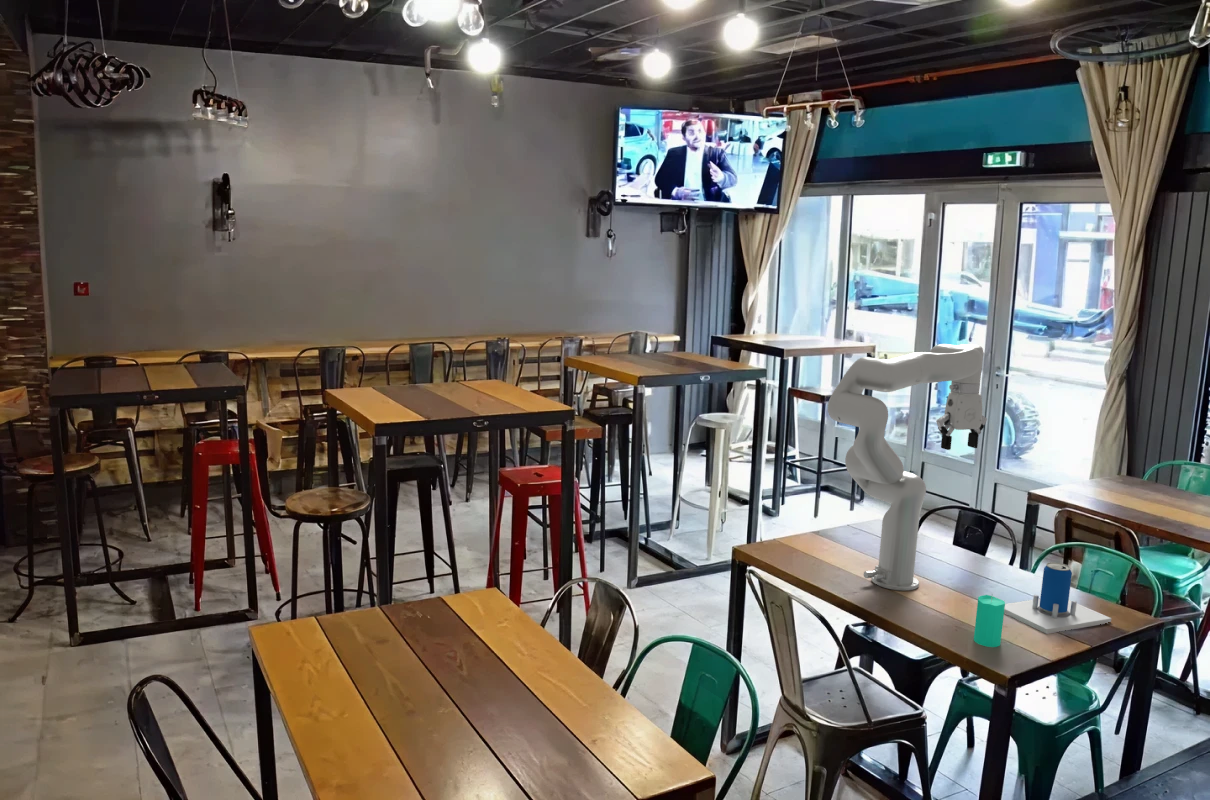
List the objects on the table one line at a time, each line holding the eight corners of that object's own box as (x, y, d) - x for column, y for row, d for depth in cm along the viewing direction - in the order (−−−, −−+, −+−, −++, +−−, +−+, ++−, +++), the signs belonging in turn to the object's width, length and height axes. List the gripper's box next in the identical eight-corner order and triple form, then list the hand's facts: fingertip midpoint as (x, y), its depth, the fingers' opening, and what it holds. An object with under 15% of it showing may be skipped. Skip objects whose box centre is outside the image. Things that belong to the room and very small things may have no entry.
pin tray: (1046, 633, 230) (1048, 615, 229) (996, 609, 245) (998, 592, 244) (1110, 622, 239) (1113, 605, 238) (1058, 599, 253) (1060, 583, 252)
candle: (969, 636, 227) (974, 588, 225) (994, 637, 227) (1000, 589, 225) (978, 646, 221) (984, 598, 219) (1004, 647, 221) (1010, 599, 219)
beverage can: (1071, 616, 238) (1077, 570, 236) (1045, 615, 238) (1051, 569, 236) (1059, 606, 245) (1065, 562, 243) (1034, 605, 245) (1040, 561, 243)
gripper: (950, 391, 258) (944, 452, 261) (998, 389, 264) (992, 449, 267) (931, 387, 265) (925, 446, 267) (978, 385, 271) (972, 443, 274)
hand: (959, 448), depth 267 cm, fingers open, 9 cm apart
